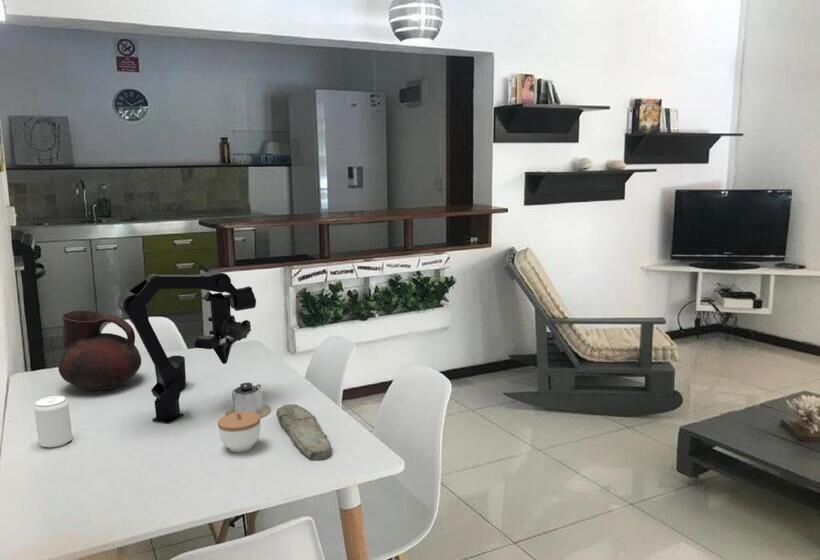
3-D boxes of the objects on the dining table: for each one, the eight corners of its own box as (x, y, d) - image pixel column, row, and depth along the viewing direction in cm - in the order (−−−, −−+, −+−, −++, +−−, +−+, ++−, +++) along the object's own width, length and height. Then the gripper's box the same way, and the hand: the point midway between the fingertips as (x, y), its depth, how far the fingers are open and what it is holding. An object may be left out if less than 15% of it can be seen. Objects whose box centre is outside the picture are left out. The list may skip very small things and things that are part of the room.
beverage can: (35, 450, 180) (29, 407, 177) (43, 438, 187) (37, 397, 185) (69, 446, 182) (64, 403, 179) (75, 434, 189) (70, 393, 187)
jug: (117, 400, 215) (108, 323, 210) (44, 397, 219) (34, 322, 214) (157, 374, 239) (150, 304, 235) (92, 372, 243) (83, 304, 239)
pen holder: (162, 384, 228) (159, 356, 227) (190, 383, 229) (188, 355, 227) (153, 394, 219) (150, 364, 217) (182, 393, 220) (179, 363, 218)
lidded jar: (218, 442, 182) (215, 409, 180) (258, 435, 185) (256, 403, 184) (222, 459, 172) (219, 424, 170) (265, 451, 176) (262, 417, 174)
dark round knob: (250, 406, 198) (248, 388, 197) (234, 404, 200) (232, 386, 199) (260, 400, 203) (259, 382, 202) (245, 398, 205) (243, 380, 204)
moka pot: (254, 423, 194) (252, 399, 192) (216, 418, 198) (214, 395, 197) (279, 406, 206) (277, 384, 204) (242, 402, 210) (240, 380, 209)
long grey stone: (301, 470, 168) (340, 464, 172) (302, 450, 167) (341, 444, 171) (269, 414, 199) (302, 410, 203) (269, 397, 198) (303, 393, 202)
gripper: (222, 322, 193) (226, 375, 196) (261, 308, 209) (264, 357, 212) (191, 319, 197) (195, 371, 200) (232, 306, 214) (235, 354, 217)
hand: (224, 363), depth 207 cm, fingers closed
